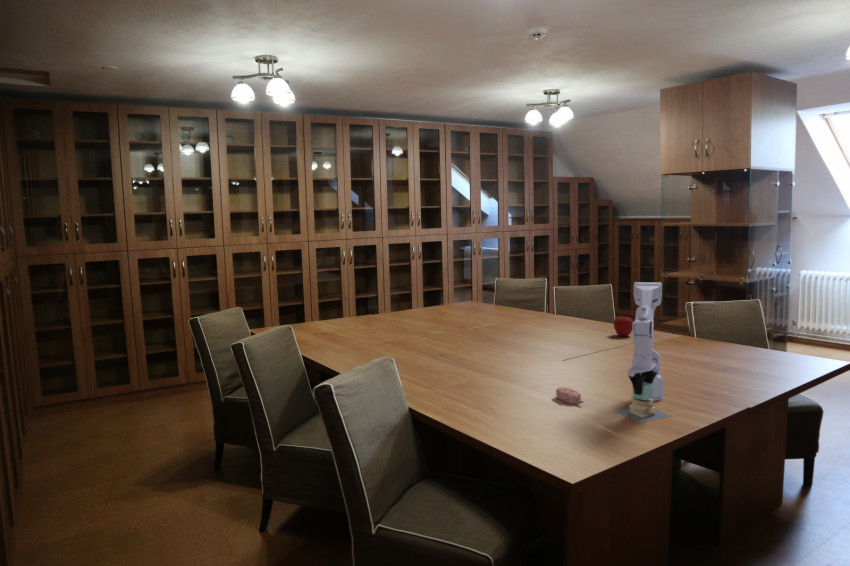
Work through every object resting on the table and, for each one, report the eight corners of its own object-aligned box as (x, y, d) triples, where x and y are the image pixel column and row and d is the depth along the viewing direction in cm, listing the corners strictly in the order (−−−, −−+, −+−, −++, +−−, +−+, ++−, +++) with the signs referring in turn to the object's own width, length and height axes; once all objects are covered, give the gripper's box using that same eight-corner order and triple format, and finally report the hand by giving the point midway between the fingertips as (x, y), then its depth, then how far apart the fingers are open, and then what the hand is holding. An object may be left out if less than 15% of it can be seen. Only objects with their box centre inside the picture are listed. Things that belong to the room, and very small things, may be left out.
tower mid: (641, 403, 209) (641, 396, 209) (653, 406, 205) (653, 399, 205) (631, 405, 207) (631, 399, 207) (643, 409, 203) (643, 402, 202)
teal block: (640, 394, 209) (640, 381, 208) (651, 397, 205) (651, 383, 205) (632, 397, 206) (632, 383, 206) (644, 400, 203) (644, 386, 202)
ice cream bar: (574, 398, 215) (552, 387, 228) (575, 409, 215) (552, 397, 229) (589, 395, 217) (566, 384, 231) (589, 406, 217) (566, 394, 231)
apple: (630, 338, 326) (630, 317, 324) (611, 337, 332) (611, 316, 330) (635, 334, 335) (635, 314, 334) (616, 333, 341) (616, 313, 339)
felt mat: (644, 405, 215) (644, 404, 215) (673, 417, 202) (673, 416, 202) (612, 411, 210) (612, 410, 210) (640, 423, 197) (640, 422, 197)
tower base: (643, 409, 210) (643, 402, 210) (655, 414, 205) (655, 407, 204) (629, 412, 208) (629, 405, 208) (641, 417, 202) (641, 410, 202)
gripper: (644, 349, 211) (644, 386, 213) (619, 356, 203) (619, 394, 204) (662, 352, 206) (662, 390, 207) (637, 359, 197) (637, 399, 199)
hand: (642, 392), depth 205 cm, fingers closed on teal block, 4 cm apart
